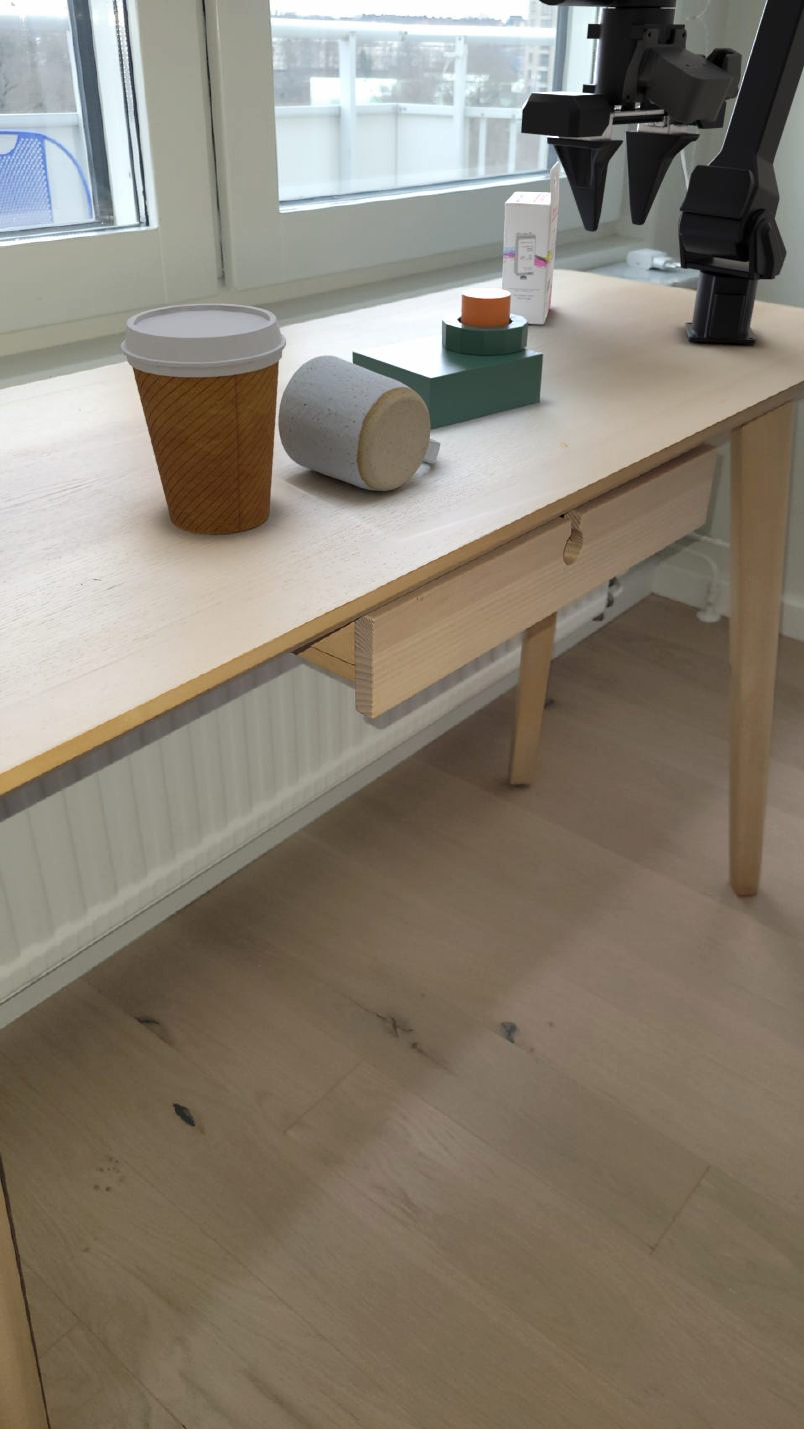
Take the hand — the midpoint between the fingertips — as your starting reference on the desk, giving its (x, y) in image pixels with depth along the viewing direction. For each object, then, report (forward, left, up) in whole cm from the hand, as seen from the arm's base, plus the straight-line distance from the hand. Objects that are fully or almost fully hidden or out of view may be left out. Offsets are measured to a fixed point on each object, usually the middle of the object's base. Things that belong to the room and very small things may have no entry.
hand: (614, 228), depth 91 cm
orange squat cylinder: (+9, -10, -6) cm, 15 cm away
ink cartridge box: (-21, -8, -12) cm, 26 cm away
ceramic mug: (+30, -16, -12) cm, 36 cm away
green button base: (+12, -13, -12) cm, 21 cm away
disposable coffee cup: (+39, -24, -12) cm, 47 cm away
